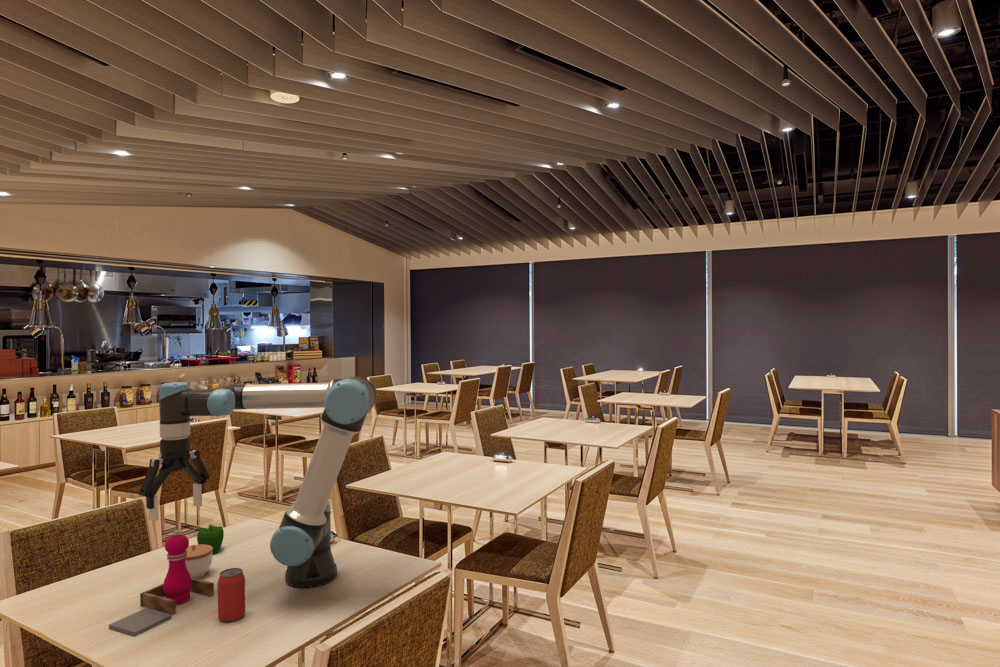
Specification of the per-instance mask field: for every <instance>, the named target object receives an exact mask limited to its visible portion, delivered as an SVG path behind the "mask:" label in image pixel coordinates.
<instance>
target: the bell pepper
mask: <svg viewBox="0 0 1000 667" xmlns="http://www.w3.org/2000/svg"><path fill="white" fill-rule="evenodd" d="M224 536H225V533H224V527H223V526H215V525H213V524H212V523H209V524H208V528H206V527H202V528H199V530H198V532H197V534H196V541H197V545H200V544H204V545H210V546H212V547H213V552H212V554H215V553H218V552H219V551H220V549H221V547H222V544H223V541H224Z"/></svg>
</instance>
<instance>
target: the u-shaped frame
mask: <svg viewBox="0 0 1000 667" xmlns="http://www.w3.org/2000/svg"><path fill="white" fill-rule="evenodd" d="M191 579H192V586H191V587H190V589H189V591H190V593H195V594H199V595H200V594H201V595H203V596H204V595H205V596H208V597H213V596H214V595H215V587H214V586H215V583H214V582H211V581H207V580H202V579H200V578H196V579H195V578H191ZM166 595H167V594H166V593H165V592H164V591H163V583H162V584H160V585H157V586H155V587H153V588H150V589H147V590H146V591H143V592H141V593H139V597H140V598H139V601H140V603H139V605H140V607H142V608H144V609H145V608H149V609H152V610H156V611H159V612H163V613H167V614H170V615H171V616H173V615H177V605H176V600H172V599H169V598H165V596H166Z"/></svg>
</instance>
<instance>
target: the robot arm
mask: <svg viewBox="0 0 1000 667" xmlns="http://www.w3.org/2000/svg"><path fill="white" fill-rule="evenodd" d="M158 393H159V394H158V404H159V406H158V407H159V437H160V438H161V439H160V441H159V451H160V458H151V459H150V460H149V466H148V468H147V469H148V470H147V472H146V475H145V477H144V479H143V481H142V484H141V486H140V489H139V491H138V496H140V497H145V501H146V502H145V503H146V505H145V506H146V509H147V510H148V520H150V521H155V522H157V521H159V496H158V495H157V493H158V491H159V490H160V488H161V487H162V485H163V483H164V482H165V481H166V478H168V475H170V474H171V473H174V472H177V471H183V470H184V471H185V472H186V474H188V476H189V477H190V478H191V479H192V480H193V481H194V482H195V483H192V499H193V500H192V504H193V505H192V506H193V507H198V508H201V507H202V506H203V494H204V491H205V490H204V484H206V483H207V480H210V478H211V477H210V476H211V475H209V472H208V470H207V468H206V466H205V464H204V463H203V460H202V458H201V454H200V453H201V452H200V450H196V449H195V450H194V449H191V437H189V436H190V435H191V417H217V418H218V417H223V416H229V415H230V416H231V415H232V414H233V411H235V410H240V411H241V410H264V409H265V410H269V409H271V410H272V409H273V410H274V409H277V410H278V409H323V412H322V414H321V417H320V421H321V423H322V425H323V428H322V430H321V433H320V436H319V438H318V440H317V443H316V445H315V448H314V450H313V453H312V456H311V458H310V462H309V464H308V466H307V469H306V472H305V474H304V478H303V479H302V483H301V484H300V485H301V486H300V488H299V490H298V493H297V495H296V498H295V501H294V503H292V504H291V505H290V506H287V507H286V510H284V511H285V512H284V514H283V516H282V519H281V522H280V524H279V527H278V528H277V529H276V530H275V531H274V533H273V534H272V537H271V539H270V545H269V547H270V548H269V549H270V551H271V554H272V556H273V559H274V560H276V561H277V562H278V563H280V564H282V565H283V566H285V567H286V566H287V568H286V570H285V573H284V574H285V576H284V578H285V579H284V582H285V583H286V585H288V586H290V587H294V588H300V589H301V588H302V589H303V588H314V587H319V586H322V585H325V584H328V583H330V582H331V581H333V580H335V579H336V577H337V576H338V567H337V564H336V563H335V560H334V556H333V553H332V547H331V546H332V545H331V543H332V542H331V541H332V540H331V538H332V536H331V535H332V534H331V533H332V532H331V531H332V530H331V525H332V523H331V513H332V511H331V505H330V503H329V500H330V497H331V495H332V492H333V490H334V487H335V484H336V481H337V480H338V477H339V473H340V470H341V469H342V466H343V463H344V460H345V459H346V458H345V457H346V455H347V452H348V450H349V448H350V445H351V443H352V439H353V436H355V435H357V434H359V433H361V431H362V428H363V426H364V424H365V421H366V418H367V415H368V413H369V412H370V411H371V410H372V409H373V408H374V406H375V405H376V401H377V397H378V396H377V389H376V388H375V386H374V383H372V382H371V380H369V379H367V378H365V377H362V376H351V377H347V378H333V379H331V381H329V382H302V383H301V382H299V383H260V384H259V383H257V384H256V383H253V384H249V383H248V384H240V383H228V384H226V385H222V386H217V387H213V388H207V389H191V387H190V384H189V383H188V382H185V381H184V382H183V381H174V382H165V383H162V384H160V386H159V392H158ZM190 459H191V461H192V464H193V465H194V467H195V468H194V467H193V465H192V464H191V463H190V462H189V460H190Z"/></svg>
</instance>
